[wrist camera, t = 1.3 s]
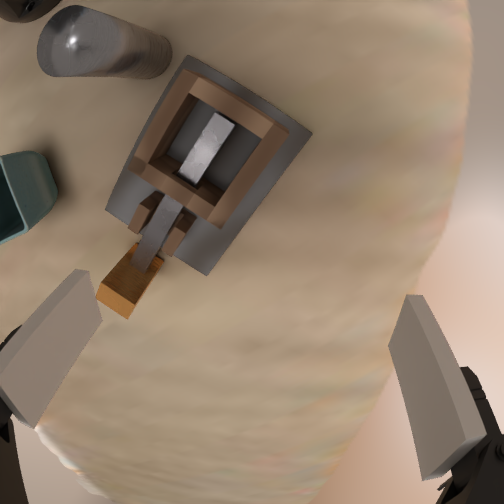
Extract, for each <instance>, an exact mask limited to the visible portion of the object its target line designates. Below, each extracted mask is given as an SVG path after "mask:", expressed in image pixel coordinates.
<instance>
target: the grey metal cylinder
mask: <svg viewBox="0 0 504 504" xmlns="http://www.w3.org/2000/svg"><path fill="white" fill-rule="evenodd" d="M37 58H38V62H39V65H40V67H41V69H42V70H43V71H44V72H45V73H46V74H48V75H50V76H53V77H71V76H90V77H120V78H136V79H151V78H155V77H157V76H159V75H160V74H162V73H163V72H164V71H165V70H166V69H167V67H168V66H169V64H170V61H171V58H172V48H171V45H170V43H169V41H168V40H167V39H166V38H164V37H163V36H161V35H158V34H156V33H154V32H151V31H149V30H147V29H144V28H142V27H139V26H137V25H134V24H132V23H129V22H127V21H124V20H121V19H119V18H116V17H113V16H110V15H108V14H105V13H102V12H99V11H96V10H93V9H90V8H86V7H83V6H79V5H73V6H68V7H66V8H64V9H62V10H60V11H59V12H57V13H56V14H55V15H54V16H53V17H52V18H51V19H50V20H49V21H48V22H47V24H46V25H45V27H44V29H43V31H42V33H41V35H40V38H39V41H38V46H37Z"/></svg>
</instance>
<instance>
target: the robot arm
mask: <svg viewBox="0 0 504 504" xmlns="http://www.w3.org/2000/svg"><path fill="white" fill-rule="evenodd" d="M59 1H60V0H0V17H1V18H2V19H4V20H6V21H9V22H18V23H26V22H30V21H33V20H35V19H37V18H39V17H41V16H43V15H44V14H46V13H47V12H48V11H50V10H51V9H52V8H53V7H54V6H55V5H56V4H57V3H58V2H59ZM102 321H103V320H102V317H101V313H100V310H99V307H98V303H97V300H96V297H95V293H94V289H93V286H92V282H91V278H90V274H89V271H86V270H78V269H75V270H74V271H73V272H72V273H71V274H70V275H69V276H68V277H67V278H66V279H65V280H64V281H63V282H62V283H61V284H60V285H59V286H58V287H57V288H56V289H55V290H54V291H53V292H52V293H51V294H50V296H49V297H48V298H47V299H46V300H45V301H44V302H43V303H42V304H41V305H40V306H39V307H38V308H37V310H36V311H35V312H34V313H33V314H32V315H31V316H30V317H29V318H28V320H27V321H26V322H25V323H24V324H23V325H20V326H19V327H18V328H16V329H15V330H13V331H12V332H11V333H10V334H9V335H8V336H7V338H6V339H5V340H4V342H2V343H1V345H0V504H29V503H28V499H27V496H26V492H25V488H24V483H23V479H22V474H21V470H20V465H19V459H18V454H17V448H16V441H15V434H14V426H13V422H12V420H11V419H10V417H11V415H12V413H13V414H14V415H15V417H16V418H17V419H18V420H19V421H20V422H21V423H22V424H24V425H26V426H28V427H30V428H32V429H34V428H35V427H36V425H37V423H38V421H39V420H40V418H41V416H42V414H43V413H44V411H45V409H46V408H47V406H48V404H49V402H50V401H51V399H52V398H53V396H54V394H55V393H56V391H57V389H58V388H59V386H60V384H61V383H62V381H63V380H64V378H65V376H66V375H67V373H68V372H69V370H70V369H71V367H72V365H73V364H74V362H75V361H76V359H77V358H78V356H79V355H80V353H81V352H82V350H83V349H84V347H85V346H86V344H87V343H88V341H89V340H90V338H91V337H92V335H93V334H94V332H95V331H96V329H97V328H98V327H99V325H100V324H101V322H102ZM388 347H389V350H390V353H391V357H392V360H393V363H394V366H395V370H396V373H397V376H398V380H399V384H400V387H401V391H402V394H403V398H404V402H405V406H406V409H407V413H408V417H409V421H410V425H411V430H412V434H413V438H414V443H415V447H416V452H417V456H418V461H419V466H420V472H421V476H422V481H424V480H429V479H434V478H438V477H442V476H443V475H444V474H445V473H447V472H448V471H449V470H450V469H451V472H452V477H451V478H449V479H448V480H447V481H446V482H444V483H443V484H442V485H441V486H440V487H439V488H438V489H437V490H439V491H440V490H441V489H442V488H444V487H445V488H444V490H443V492H442V494H441V495H440V497H439V499H438V501H437V502H436V504H504V434H501V431H500V429H499V426H498V424H497V422H496V419H495V416H494V414H493V412H492V409H491V407H490V404H489V402H488V400H487V399H486V395H485V393H484V391H483V390H482V386H481V384H480V382H479V380H478V377H477V376H476V375H475V374H474V373H473V371H472V370H470V368H469V367H468V366H467V367H459V365H458V363H457V361H456V358H455V357H454V354H453V352H452V350H451V348H450V346H449V344H448V342H447V340H446V338H445V336H444V334H443V332H442V330H441V328H440V326H439V324H438V323H437V321H436V319H435V317H434V315H433V313H432V311H431V309H430V308H429V306H428V304H427V302H426V300H425V299H424V297H423V295H406V297H405V300H404V303H403V306H402V309H401V312H400V315H399V318H398V321H397V323H396V326H395V329H394V332H393V334H392V337H391V340H390V342H389V345H388Z"/></svg>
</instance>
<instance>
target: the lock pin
mask: <svg viewBox="0 0 504 504" xmlns="http://www.w3.org/2000/svg"><path fill="white" fill-rule="evenodd" d="M236 126H237V123H236V122H234V121H233V120H231V119H230V118H228V117H227V116H225V115H223V114H222V113H220V112H215V114H214V115H213V117H212V118H211V120H210V121H209V123H208V124H207V126H206V127H205V129H204V130H203V132H202V134H201V135H200V137H199V138H198V140H197V142H196V143H195V145H194V146H193V148H192V150H191V151H190V153H189V155H188V156H187V158H186V160H185V161H184V163H183V165H182V166H181V168H180V170H179V171H178V173H177V175H176V176H177V177H179V178H180V179H182V180H183V181H185V182H186V183H188V184H189V185H191V186H192V187H194V188H196V187H197V185H198V184H199V182H200V180H201V179H202V177H203V176H204V174H205V173H206V171H207V169H208V168H209V166H210V165H211V163H212V162H213V160H214V159H215V157H216V156H217V154H218V152H219V151H220V149H221V148H222V146H223V145H224V143H225V142H226V140H227V139H228V137H229V136H230V135H231V133H232V132H233V130H234V129H235V127H236ZM183 208H184V206H183V205H182V204H180V203H179V202H177V201H176V200H174V199H172V198H171V197H169V196H168V195H166V194H165V196H164V198H163V199H162V201H161V203H160V205H159V207H158V208H157V210H156V212H155V214H154V216H153V218H152V220H151V222H150V223H149V225H148V227H147V229H146V231H145V233H144V235H143V237H142V239H141V241H140V243H139V245H138V244H137V243H135V245H134V246H133V247H132V248H131V249H130V250H129V251H128V252H127V253H126V254H125V256H124V257H123V258H122V259H121V260H120V261H119V262H118V263H117V265H116V266H115V267H114V268H113V269H112V270H111V271H110V273H109V274H108V275H107V276H106V277H105V278H104V279H103V281H102V282H101V284H100V286H99V289H98V291H97V294H96V299H97V300H99V301H100V302H102V303H103V304H105V305H106V306H108V307H109V308H111V309H112V310H114V311H115V312H117V313H118V314H120V315H121V316H123V317H124V318H126V319H128V318H129V316H130V315H131V313H132V312H133V310H134V308H135V307H136V305H137V304H138V302H139V301H140V299H141V297H142V296H143V294H144V293H145V291H146V290H147V288H148V287H149V285H150V284H151V282H152V281H153V279H154V277H155V276H156V274H157V273H158V271H159V269H160V267H161V266H162V264H163V262H164V261H163V260H161V259H160V258H158V257H156V254H157V253H158V251H159V249H160V247H161V246H162V244H163V242H164V240H165V239H166V237H167V235H168V233H169V232H170V230H171V228H172V226H173V225H174V223H175V221H176V220H177V218H178V216H179V215H180V213H181V211H182V210H183Z"/></svg>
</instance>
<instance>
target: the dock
mask: <svg viewBox="0 0 504 504" xmlns="http://www.w3.org/2000/svg"><path fill="white" fill-rule="evenodd" d="M215 112H220V113H222V114H223V115H225V116H227V117H228V118H230V119H231V120H233V121H234V122H236V123H237V126H236V127H235V129H234V130H233V132H232V133H231V135H230V136H229V137H228V139H227V140H226V142H225V143H224V145H223V146H222V148H221V149H220V151H219V152H218V154H217V156H216V157H215V159H214V160H213V162H212V163H211V165H210V166H209V168H208V169H207V171H206V173H205V174H204V176H203V177H202V179H201V180H200V182H199V184H198V185H197V187H196V188H194V187H192V186H191V185H189V184H188V183H186V182H185V181H183V180H182V179H180V178H179V177H177V176H176V175H177V173H178V171H179V170H180V168H181V166H182V165H183V163H184V161H185V160H186V158H187V156H188V155H189V153H190V151H191V150H192V148H193V146H194V145H195V143H196V142H197V140H198V138H199V137H200V135H201V134H202V132H203V130H204V129H205V127H206V126H207V124H208V123H209V121H210V120H211V118H212V117H213V115H214V114H215ZM311 136H312V133H311V132H310V131H308V130H307V129H306V128H304V127H303V126H302V125H300V124H299V123H297V122H296V121H295V120H293V119H292V118H290V117H289V116H287V115H286V114H285V113H283V112H282V111H280V110H279V109H277V108H276V107H274V106H273V105H271V104H270V103H268V102H267V101H265V100H264V99H262V98H261V97H259V96H258V95H256V94H254V93H253V92H251V91H250V90H248V89H247V88H245V87H243V86H242V85H240V84H238V83H237V82H235V81H234V80H232V79H230V78H229V77H227V76H225V75H223V74H222V73H220V72H218V71H217V70H215V69H213V68H211V67H210V66H208V65H206V64H204V63H202V62H201V61H199V60H197V59H195V58H193V57H191V56H189V55H187V56H186V57H185V59H184V60H183V62H182V63H181V65H180V66H179V68H178V69H177V71H176V73H175V74H174V76H173V77H172V79H171V81H170V82H169V84H168V86H167V87H166V89H165V91H164V92H163V94H162V96H161V97H160V99H159V101H158V102H157V104H156V106H155V108H154V109H153V111H152V113H151V115H150V117H149V118H148V120H147V122H146V124H145V126H144V128H143V129H142V131H141V133H140V135H139V137H138V139H137V141H136V143H135V145H134V147H133V149H132V151H131V153H130V155H129V157H128V159H127V161H126V163H125V165H124V167H123V169H122V172H121V174H120V176H119V178H118V180H117V182H116V185H115V187H114V189H113V191H112V194H111V196H110V198H109V201H108V203H107V206H106V208H105V210H106V211H108V212H109V213H110V214H112V215H113V216H115V217H116V218H118V219H119V220H121V221H122V222H124V223H125V224H127V225H128V229H130V230H131V231H133V232H134V233H136V234H138V233H140V234H142V235H144V233H145V231H146V229H147V227H148V225H149V223H150V222H151V220H152V218H153V216H154V214H155V212H156V210H157V208H158V207H159V205H160V203H161V201H162V199H163V198H164V196H165V194H166V195H168V196H169V197H171V198H172V199H174V200H176V201H177V202H179V203H180V204H182V205H183V206H184V208H183V210H182V211H181V213H180V215H179V216H178V218H177V220H176V221H175V223H174V225H173V226H172V228H171V230H170V232H169V233H168V235H167V237H166V239H165V240H164V242H163V244H162V246H161V247H162V251H163V252H165V253H166V254H168V255H169V256H171V257H172V255H174V256H175V257H177V258H179V259H180V260H182V261H183V262H185V263H186V264H188V265H190V266H191V267H193V268H194V269H196V270H197V271H199V272H201V273H202V274H204V275H205V276H207V275H208V274H209V272H210V271H211V270H212V268H213V267H214V266H215V264H216V263H217V261H218V260H219V259H220V257H221V256H222V255H223V253H224V252H225V250H226V249H227V248H228V246H229V245H230V244H231V242H232V241H233V239H234V238H235V237H236V235H237V234H238V233H239V231H240V230H241V229H242V227H243V226H244V225H245V223H246V222H247V221H248V219H249V218H250V216H251V215H252V214H253V212H254V211H255V210H256V208H257V207H258V206H259V204H260V203H261V202H262V200H263V199H264V198H265V196H266V195H267V194H268V192H269V191H270V190H271V188H272V187H273V186H274V184H275V183H276V182H277V180H278V179H279V178H280V176H281V175H282V174H283V172H284V171H285V170H286V168H287V167H288V166H289V164H290V163H291V162H292V161H293V159H294V158H295V157H296V155H297V154H298V153H299V151H300V150H301V149H302V147H303V146H304V145H305V144H306V142H307V141H308V140H309V138H310V137H311Z"/></svg>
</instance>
